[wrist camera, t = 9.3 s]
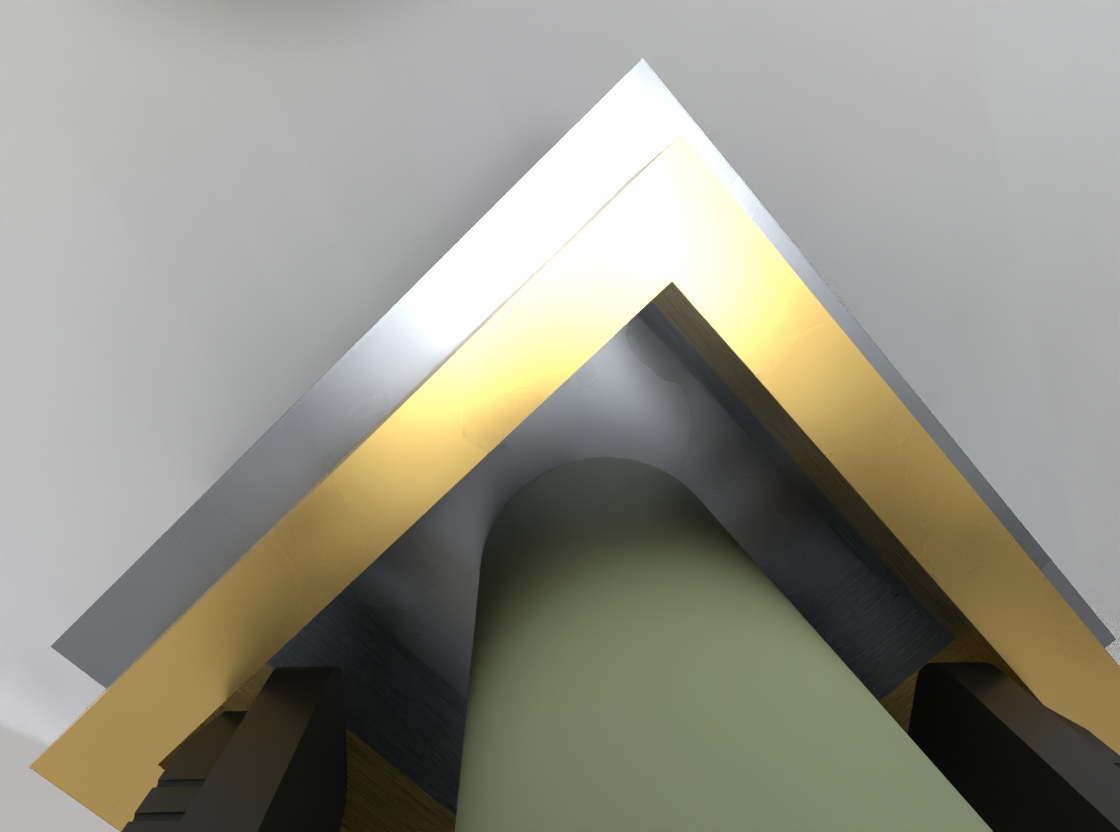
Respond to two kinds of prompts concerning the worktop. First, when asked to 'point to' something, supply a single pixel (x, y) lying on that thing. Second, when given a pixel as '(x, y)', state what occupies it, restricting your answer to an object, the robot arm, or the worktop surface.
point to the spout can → (666, 681)
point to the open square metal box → (558, 439)
